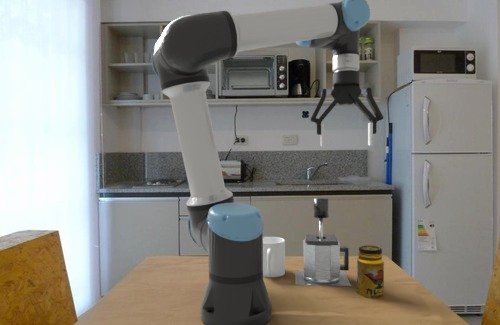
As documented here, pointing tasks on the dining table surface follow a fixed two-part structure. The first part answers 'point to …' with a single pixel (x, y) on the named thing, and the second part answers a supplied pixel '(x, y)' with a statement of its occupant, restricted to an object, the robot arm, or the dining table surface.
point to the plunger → (320, 212)
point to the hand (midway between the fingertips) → (346, 146)
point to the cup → (273, 256)
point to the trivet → (301, 281)
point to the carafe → (323, 259)
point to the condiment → (370, 272)
